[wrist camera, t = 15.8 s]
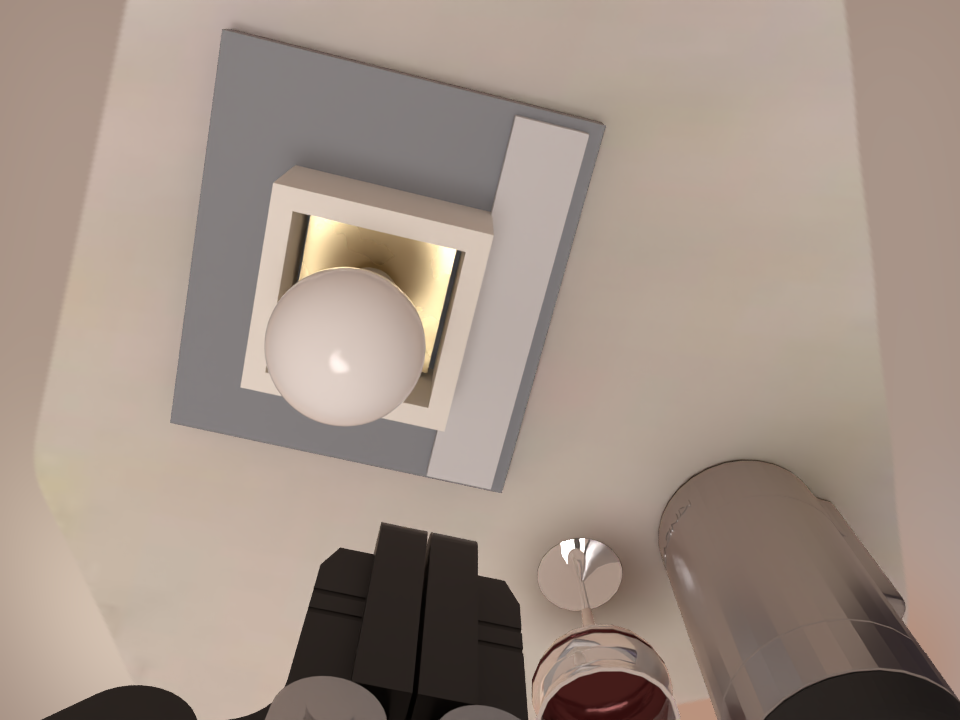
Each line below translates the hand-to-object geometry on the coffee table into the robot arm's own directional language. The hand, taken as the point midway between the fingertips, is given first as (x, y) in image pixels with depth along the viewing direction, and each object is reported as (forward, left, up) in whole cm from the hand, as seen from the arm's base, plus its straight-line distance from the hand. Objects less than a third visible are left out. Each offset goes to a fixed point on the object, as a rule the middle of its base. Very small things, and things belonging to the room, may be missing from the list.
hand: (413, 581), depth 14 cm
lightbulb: (+3, +5, -30) cm, 31 cm away
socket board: (+3, +5, -33) cm, 34 cm away
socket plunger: (+3, +5, -32) cm, 32 cm away
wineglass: (-12, +20, -33) cm, 41 cm away
